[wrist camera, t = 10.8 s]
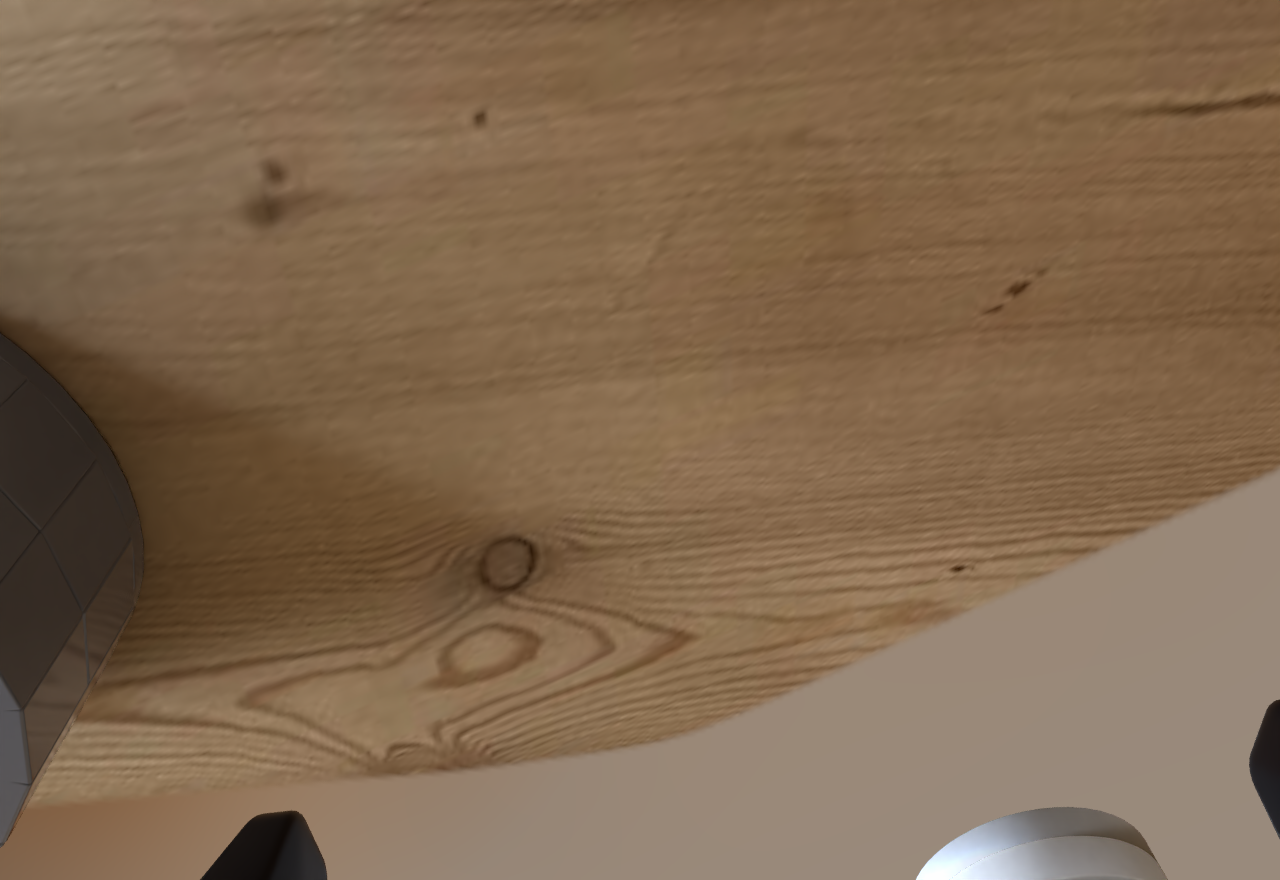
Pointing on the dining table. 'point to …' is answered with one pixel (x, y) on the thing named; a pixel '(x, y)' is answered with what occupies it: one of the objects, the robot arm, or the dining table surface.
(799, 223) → the dining table surface
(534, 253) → the dining table surface
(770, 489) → the dining table surface
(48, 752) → the bowl
